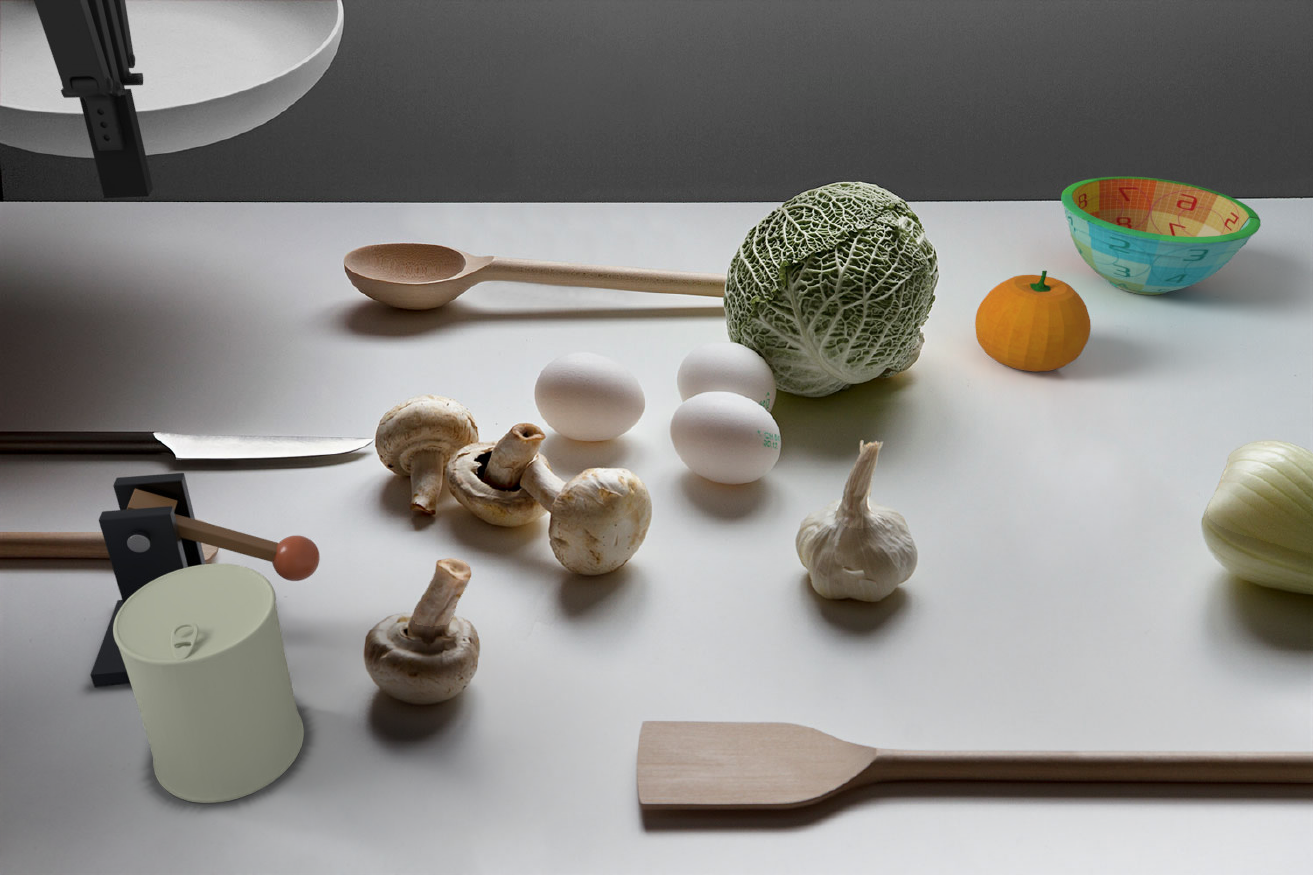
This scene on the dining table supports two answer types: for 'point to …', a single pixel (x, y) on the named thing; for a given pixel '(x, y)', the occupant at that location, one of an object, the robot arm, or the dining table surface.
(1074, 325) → the fruit
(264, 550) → the lever
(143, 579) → the bracket
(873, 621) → the dining table surface
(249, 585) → the can
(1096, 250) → the bowl
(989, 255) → the dining table surface
